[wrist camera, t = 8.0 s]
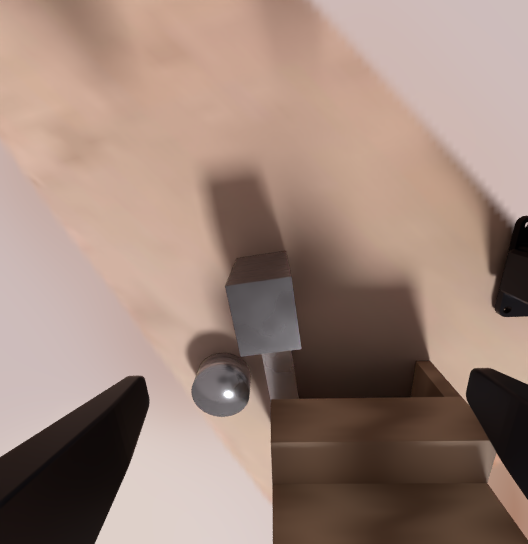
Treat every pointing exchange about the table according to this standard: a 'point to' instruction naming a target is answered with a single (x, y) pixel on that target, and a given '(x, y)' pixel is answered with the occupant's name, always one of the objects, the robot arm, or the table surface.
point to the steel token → (222, 385)
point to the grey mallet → (266, 317)
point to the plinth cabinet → (385, 470)
